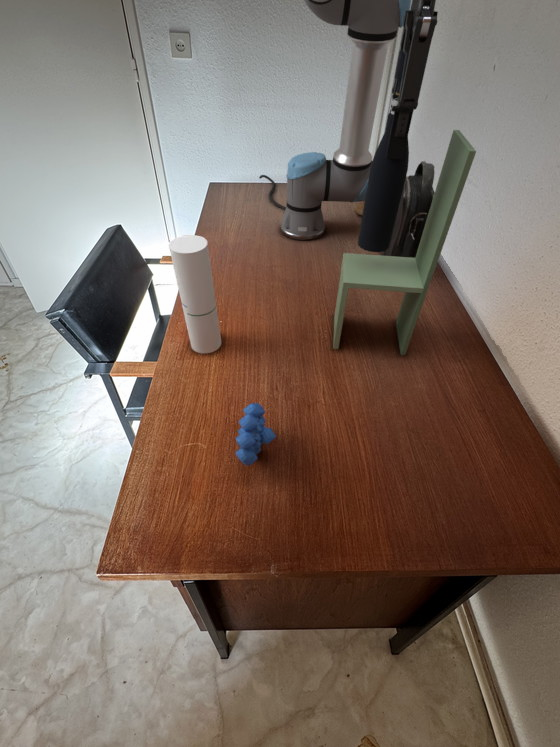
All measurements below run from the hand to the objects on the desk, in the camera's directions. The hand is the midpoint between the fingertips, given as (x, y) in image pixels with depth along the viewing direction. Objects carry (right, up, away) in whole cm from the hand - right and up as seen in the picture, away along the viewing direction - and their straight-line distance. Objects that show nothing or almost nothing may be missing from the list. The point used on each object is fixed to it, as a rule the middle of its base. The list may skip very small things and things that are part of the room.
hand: (392, 152), depth 63 cm
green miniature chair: (+2, -29, +27) cm, 39 cm away
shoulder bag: (+17, -4, +51) cm, 54 cm away
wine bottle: (0, -12, +12) cm, 17 cm away
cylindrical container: (-37, -31, +24) cm, 54 cm away
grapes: (-23, -53, +4) cm, 58 cm away
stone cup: (+16, +22, +75) cm, 80 cm away
